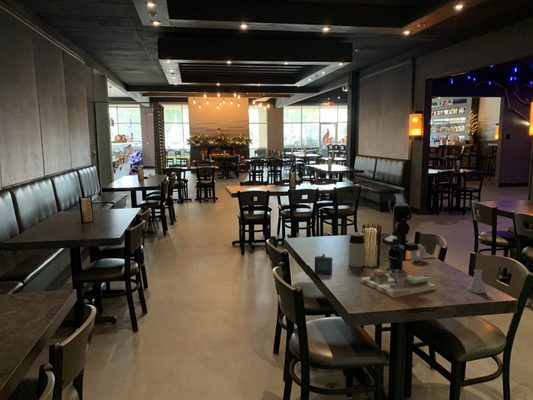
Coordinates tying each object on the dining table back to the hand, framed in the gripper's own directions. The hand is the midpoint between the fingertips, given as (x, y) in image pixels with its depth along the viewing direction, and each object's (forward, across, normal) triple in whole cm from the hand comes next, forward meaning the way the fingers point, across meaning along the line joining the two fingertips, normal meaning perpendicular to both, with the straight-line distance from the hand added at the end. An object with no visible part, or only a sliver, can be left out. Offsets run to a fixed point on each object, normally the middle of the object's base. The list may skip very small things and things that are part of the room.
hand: (399, 260), depth 207 cm
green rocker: (+6, +12, 0) cm, 13 cm away
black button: (+8, 0, 0) cm, 8 cm away
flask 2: (+10, +28, +21) cm, 36 cm away
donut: (+10, -20, +35) cm, 41 cm away
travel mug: (+10, -30, -2) cm, 32 cm away
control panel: (+10, +5, -6) cm, 13 cm away
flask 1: (+10, -26, -27) cm, 39 cm away
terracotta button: (+6, -1, -12) cm, 13 cm away
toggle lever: (+7, +11, -12) cm, 18 cm away
